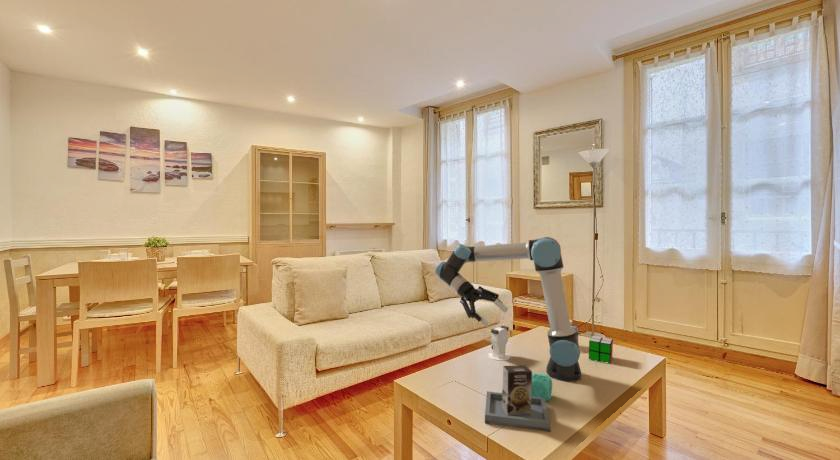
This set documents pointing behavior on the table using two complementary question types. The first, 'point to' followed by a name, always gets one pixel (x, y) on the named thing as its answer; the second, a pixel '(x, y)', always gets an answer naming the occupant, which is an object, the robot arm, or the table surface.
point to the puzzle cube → (600, 349)
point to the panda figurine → (499, 343)
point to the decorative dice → (541, 386)
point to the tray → (532, 421)
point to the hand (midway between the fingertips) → (497, 317)
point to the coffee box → (517, 390)
